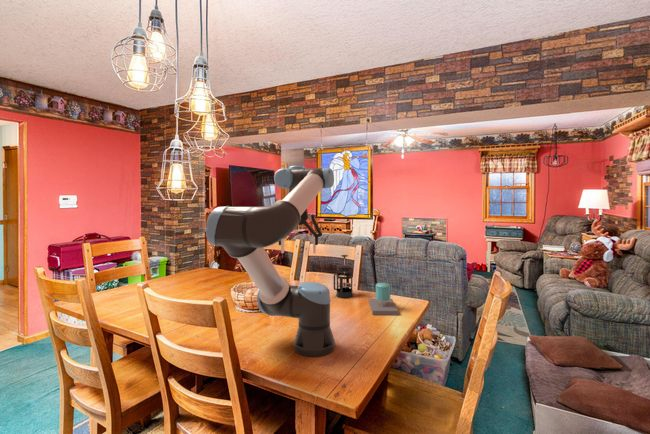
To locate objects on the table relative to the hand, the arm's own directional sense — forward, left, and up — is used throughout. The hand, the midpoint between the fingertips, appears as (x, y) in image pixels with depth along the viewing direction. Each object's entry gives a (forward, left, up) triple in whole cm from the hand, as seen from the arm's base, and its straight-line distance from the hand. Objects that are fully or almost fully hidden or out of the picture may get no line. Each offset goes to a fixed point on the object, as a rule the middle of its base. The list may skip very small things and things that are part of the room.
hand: (298, 252), depth 139 cm
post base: (+22, -39, -32) cm, 55 cm away
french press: (+42, -20, -32) cm, 56 cm away
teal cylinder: (+22, -39, -27) cm, 52 cm away
